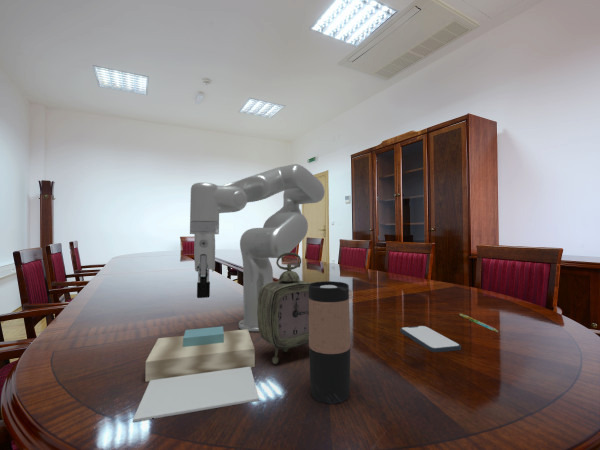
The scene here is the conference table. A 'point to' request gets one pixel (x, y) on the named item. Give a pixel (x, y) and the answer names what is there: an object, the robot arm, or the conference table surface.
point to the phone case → (430, 339)
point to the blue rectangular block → (203, 336)
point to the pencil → (479, 322)
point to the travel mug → (329, 341)
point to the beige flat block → (199, 356)
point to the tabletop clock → (284, 310)
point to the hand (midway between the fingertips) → (203, 297)
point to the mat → (197, 393)
